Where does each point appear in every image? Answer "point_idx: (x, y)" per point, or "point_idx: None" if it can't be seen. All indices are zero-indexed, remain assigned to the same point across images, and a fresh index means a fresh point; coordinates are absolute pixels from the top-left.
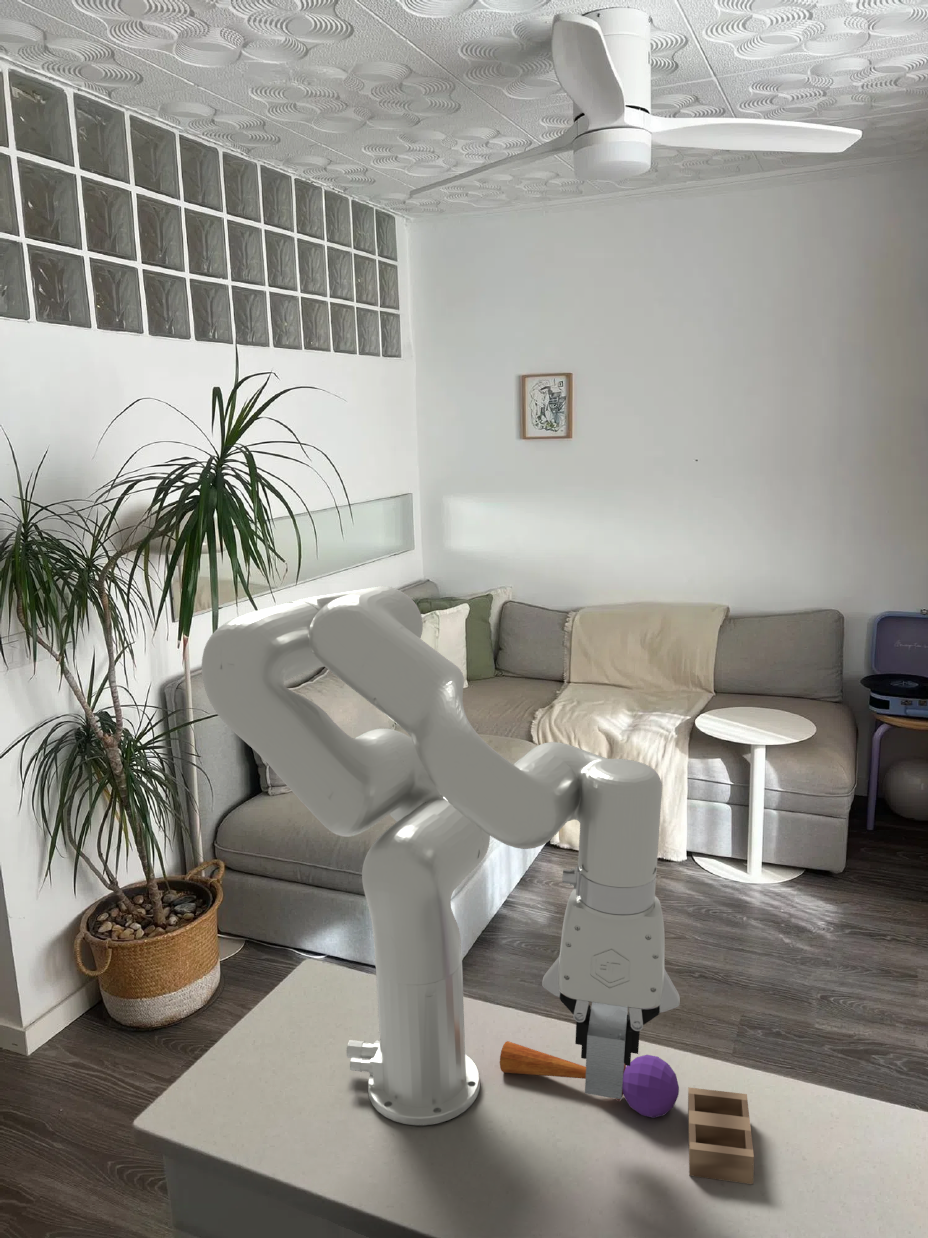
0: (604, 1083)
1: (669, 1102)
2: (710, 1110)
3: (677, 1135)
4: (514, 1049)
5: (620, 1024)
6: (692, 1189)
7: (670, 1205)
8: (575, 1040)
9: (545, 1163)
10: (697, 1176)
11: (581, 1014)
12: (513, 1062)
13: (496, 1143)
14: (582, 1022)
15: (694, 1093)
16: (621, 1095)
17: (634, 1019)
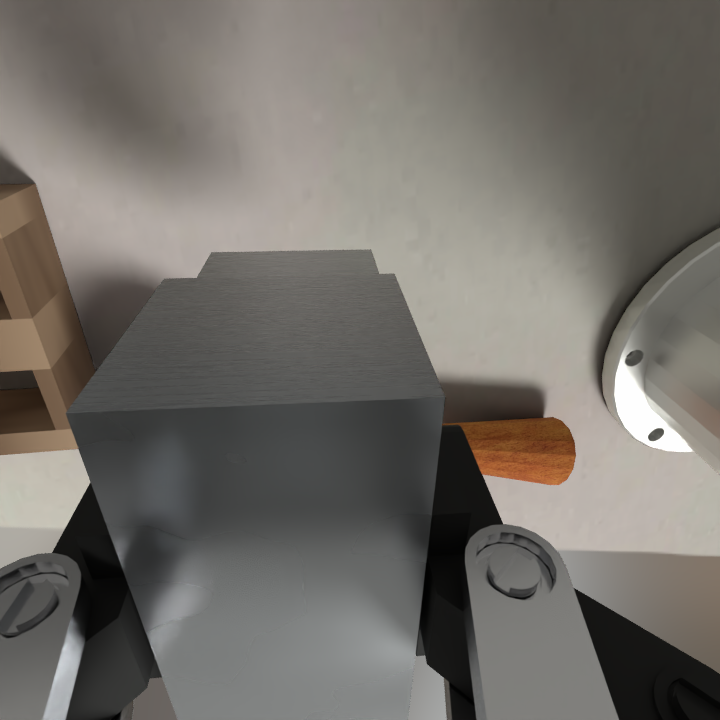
0: (286, 273)
1: None
2: (26, 406)
3: (111, 325)
4: (546, 465)
5: (174, 578)
6: (10, 130)
7: (56, 44)
8: (465, 436)
9: (445, 151)
10: (10, 185)
11: (505, 590)
12: (541, 434)
13: (571, 199)
14: (465, 534)
15: (56, 433)
16: (208, 259)
17: (13, 657)
